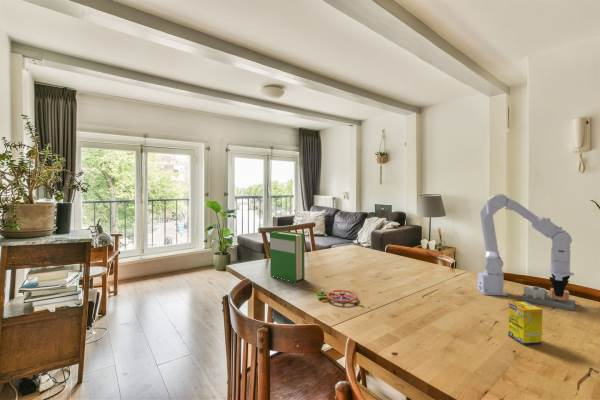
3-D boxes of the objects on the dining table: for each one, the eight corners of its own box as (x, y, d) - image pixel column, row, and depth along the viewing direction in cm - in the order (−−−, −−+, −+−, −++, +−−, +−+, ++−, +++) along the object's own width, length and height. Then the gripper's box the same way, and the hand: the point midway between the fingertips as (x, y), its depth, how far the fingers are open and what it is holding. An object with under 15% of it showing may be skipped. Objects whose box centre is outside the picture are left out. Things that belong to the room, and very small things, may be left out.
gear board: (521, 300, 122) (522, 287, 121) (525, 293, 129) (525, 282, 128) (574, 311, 110) (574, 297, 110) (575, 303, 117) (575, 290, 117)
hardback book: (304, 279, 152) (304, 233, 151) (295, 283, 146) (294, 235, 145) (280, 273, 163) (279, 230, 162) (270, 276, 157) (269, 232, 156)
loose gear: (556, 299, 115) (556, 292, 115) (546, 294, 120) (546, 287, 120) (573, 300, 114) (573, 293, 114) (562, 295, 119) (562, 288, 119)
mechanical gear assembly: (353, 313, 111) (373, 303, 121) (353, 302, 111) (373, 293, 121) (297, 294, 132) (318, 287, 142) (297, 285, 132) (319, 278, 142)
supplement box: (507, 335, 93) (508, 301, 92) (525, 334, 93) (525, 301, 93) (523, 345, 87) (524, 309, 86) (542, 344, 87) (543, 308, 87)
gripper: (573, 265, 108) (572, 301, 109) (574, 259, 119) (573, 291, 119) (548, 262, 113) (547, 297, 114) (552, 256, 124) (551, 287, 124)
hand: (559, 294), depth 117 cm, fingers closed on loose gear, 6 cm apart
